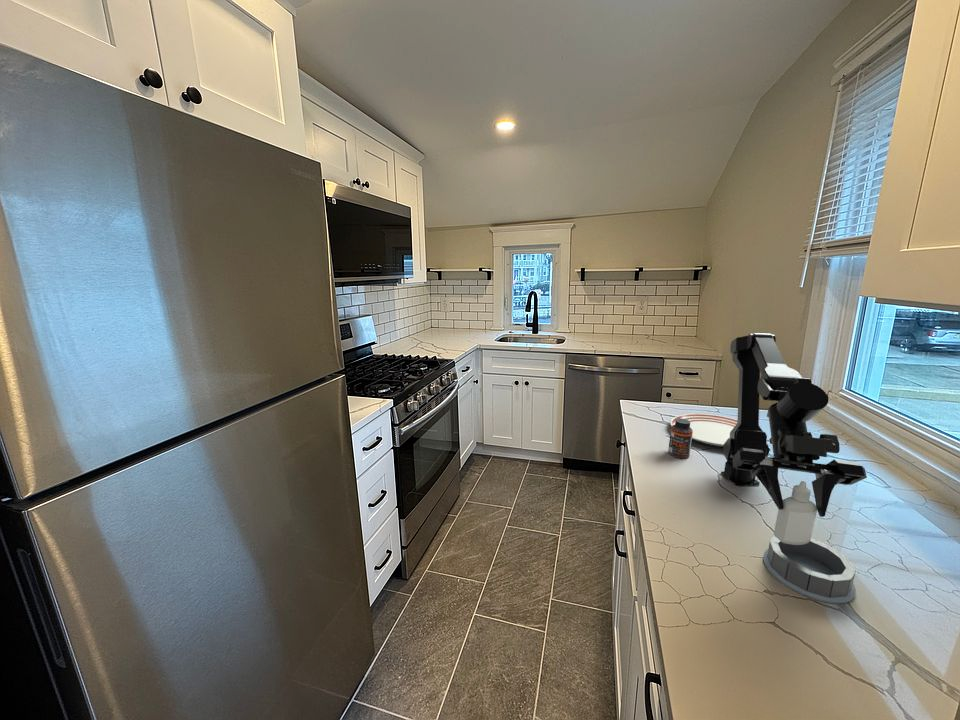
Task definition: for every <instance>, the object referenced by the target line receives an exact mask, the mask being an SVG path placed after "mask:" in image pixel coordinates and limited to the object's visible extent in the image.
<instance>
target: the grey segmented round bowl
mask: <svg viewBox="0 0 960 720" xmlns="http://www.w3.org/2000/svg"><path fill="white" fill-rule="evenodd" d="M763 563H764V566H765V568H766V569H767V570H768V572H769V573H770V574H771V575H772V576H773V577H774V578H776V580H778V581H779V582H780V583H782V584H783V585H785V586H786V587H787V588H789V589H791V590H792V591H795V592H796V593H798V594H800V595H802V596H804V597H807V598H809V599H813V600H816V601H819V602H824V603H828V604H836V605H838V604H839V605H840V604H841V605H842V604H847V603H850V602H851V601H853V599H855V597H856V596H855V595H856V591H857V590H856V589H857V588H856V586H855V584H854V580H855V577H856V570H855V568H854V566H853V564H852V563H851V562H850V560H849V559H848V558H847V557H846V556H844V555H843V554H842V553H841V552H839V551H837V549H835V548H834V547H831V546H830V545H828V544H826V543H823V542H822V541H819V540H817V539H815V538H812V537H811V540H810V542H809V543H807V544H803V545H792V544H786V543H783V542H781V541H780V540H779V539H778V538H776V537H775V536H774V535H773V536H772V538H770V539H769V544H768V548H767V549H766V550H765V551H764V553H763Z"/></svg>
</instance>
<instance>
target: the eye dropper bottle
mask: <svg viewBox="0 0 960 720" xmlns="http://www.w3.org/2000/svg"><path fill="white" fill-rule="evenodd" d="M811 493H812V491H811V489H809V488H808V487H807V482H806V481H804V480H801V481H800V482H799V484H797V485H793V488H792V492H791V496H787V497H786V498H784V499H782V500H783V509H782V510H779V509H778V510H777V511H778V512H777V515H776V520H775V525H774V531H773V537H774V536H775V537H776V538H778V539H779V540H780V541H781V542H783V543H786V544H792V545H803V544H807V543H809V542H810V540H811V538H812V536H813V531H814V526H815V521H816V517H817V514H818V511H817V506H816V503H814V502H813V501H811V500H810V497H811Z"/></svg>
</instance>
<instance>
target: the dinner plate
mask: <svg viewBox="0 0 960 720" xmlns="http://www.w3.org/2000/svg"><path fill="white" fill-rule="evenodd" d="M679 418H681V419H686V420H689V421H690V428H691V429H692V430H693V434H692V440H693V441H696V442H700V443H703V444H705V445H706V444H707V445H709V446H716V447H722V448H723V445H724V443H725V442H726V441H727V439H728V438H730V432H731V430H732V429H733V428H734V427H735V426H736V424H737V421H738V418H733V417H729V416H724V415H719V414H718V415H717V414H711V413H685V414H680V415H676V416H674V417H672V418H671V420H670V422H669V424H670V427H672V426H673V425H675V421H676V419H679Z"/></svg>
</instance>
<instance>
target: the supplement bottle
mask: <svg viewBox="0 0 960 720" xmlns="http://www.w3.org/2000/svg"><path fill="white" fill-rule="evenodd" d="M670 427H671V428H670V432H669V433H670V435H669V441H668V449H667V452H668V454H669V455H670V456H672V457H674V458H678V459H687V458H689V457H690V454H691V447H692V440H693V439H692V434H693V430H692V429H691V428H690V421H689V420H686V419H681V418H679V419H676V421H675V425H673V426H670Z"/></svg>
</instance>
